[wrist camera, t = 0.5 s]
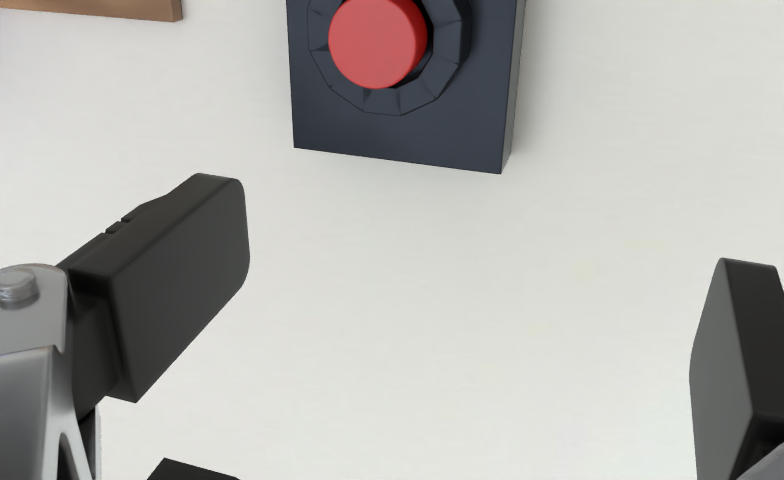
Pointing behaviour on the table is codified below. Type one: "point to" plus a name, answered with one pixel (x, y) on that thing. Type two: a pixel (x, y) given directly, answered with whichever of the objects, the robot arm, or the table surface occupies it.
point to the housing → (414, 88)
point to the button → (377, 41)
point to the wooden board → (105, 8)
